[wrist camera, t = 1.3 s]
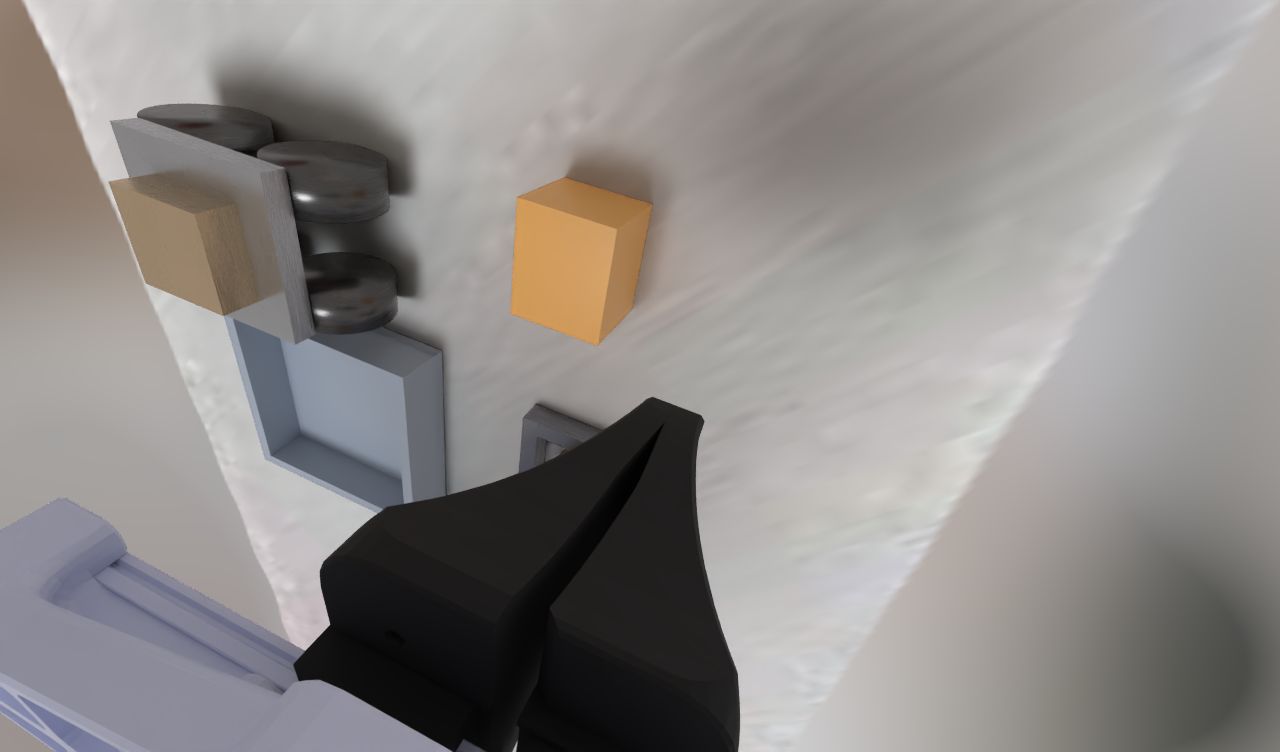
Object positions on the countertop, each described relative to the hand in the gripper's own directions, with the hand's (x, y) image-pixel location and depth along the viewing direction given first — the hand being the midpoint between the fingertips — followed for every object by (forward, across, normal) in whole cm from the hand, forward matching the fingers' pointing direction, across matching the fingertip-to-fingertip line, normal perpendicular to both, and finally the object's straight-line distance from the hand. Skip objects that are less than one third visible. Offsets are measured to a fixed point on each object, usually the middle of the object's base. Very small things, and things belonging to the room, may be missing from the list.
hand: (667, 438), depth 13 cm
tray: (+9, +19, +14) cm, 25 cm away
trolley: (+9, +20, +2) cm, 22 cm away
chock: (+9, +6, 0) cm, 11 cm away
